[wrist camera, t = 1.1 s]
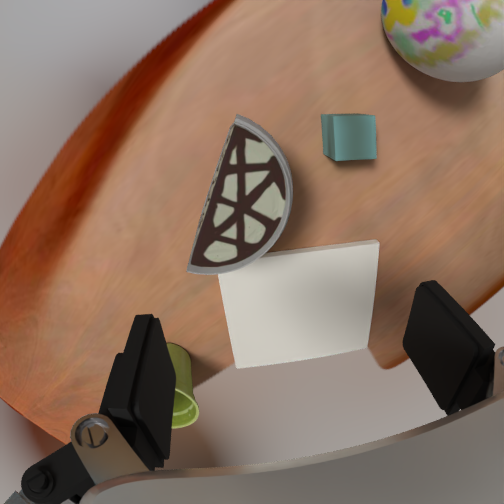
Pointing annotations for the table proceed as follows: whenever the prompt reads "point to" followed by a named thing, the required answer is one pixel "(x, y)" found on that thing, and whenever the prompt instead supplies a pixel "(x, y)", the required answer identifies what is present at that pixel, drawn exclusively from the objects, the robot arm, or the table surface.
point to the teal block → (349, 136)
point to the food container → (243, 202)
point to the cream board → (301, 303)
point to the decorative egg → (447, 36)
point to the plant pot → (183, 388)
